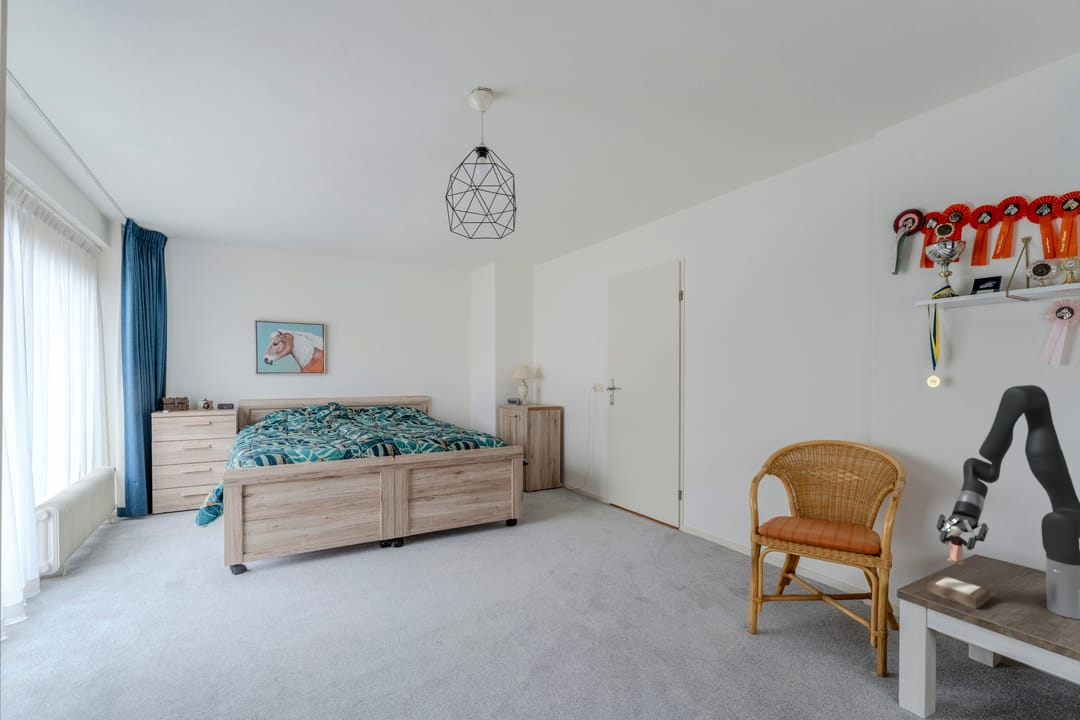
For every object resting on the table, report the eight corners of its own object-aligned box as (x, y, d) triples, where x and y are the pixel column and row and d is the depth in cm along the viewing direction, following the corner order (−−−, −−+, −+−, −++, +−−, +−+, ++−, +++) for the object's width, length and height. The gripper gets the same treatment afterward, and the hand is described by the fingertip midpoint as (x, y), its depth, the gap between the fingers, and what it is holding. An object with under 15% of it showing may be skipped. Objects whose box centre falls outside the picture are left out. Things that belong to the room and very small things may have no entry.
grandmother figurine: (942, 560, 184) (940, 524, 184) (946, 557, 186) (944, 522, 186) (969, 567, 178) (967, 530, 178) (973, 564, 180) (971, 527, 180)
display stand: (990, 599, 179) (989, 588, 179) (975, 608, 173) (975, 596, 173) (942, 585, 191) (942, 574, 191) (927, 593, 185) (926, 581, 185)
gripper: (941, 496, 192) (927, 533, 186) (990, 505, 180) (977, 545, 174) (948, 507, 195) (935, 545, 189) (997, 517, 182) (984, 557, 176)
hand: (955, 545), depth 181 cm, fingers closed on grandmother figurine, 7 cm apart
